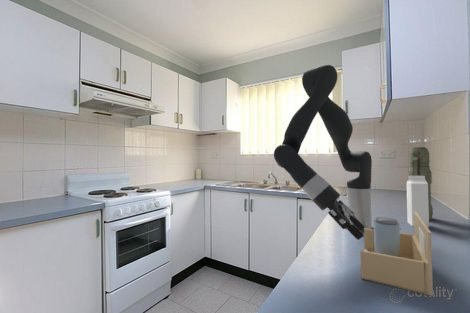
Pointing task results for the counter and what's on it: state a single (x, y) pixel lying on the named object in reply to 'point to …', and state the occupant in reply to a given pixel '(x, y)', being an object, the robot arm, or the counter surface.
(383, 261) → the mailer
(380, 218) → the canister
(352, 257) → the counter surface
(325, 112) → the robot arm
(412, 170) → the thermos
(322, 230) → the counter surface
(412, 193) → the milk
